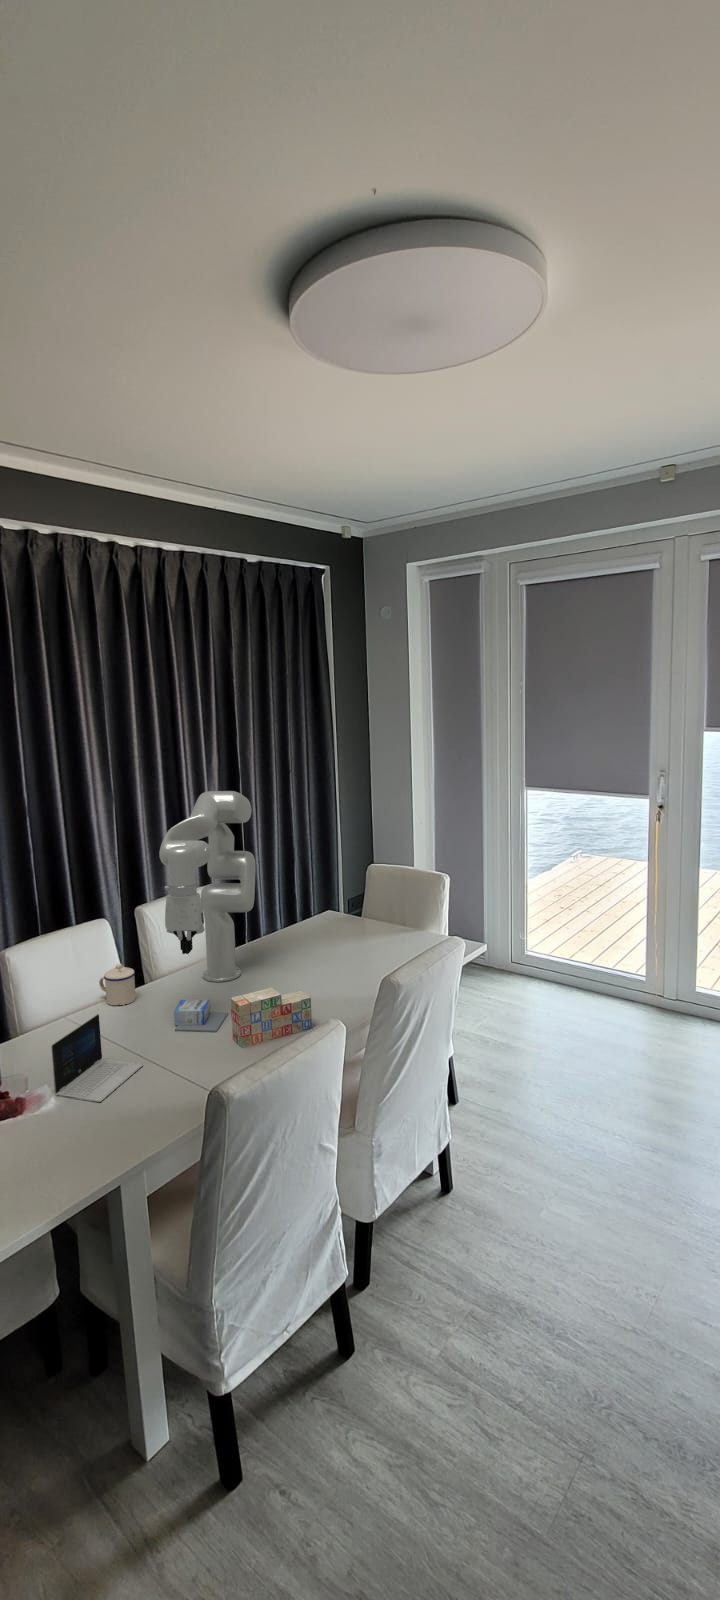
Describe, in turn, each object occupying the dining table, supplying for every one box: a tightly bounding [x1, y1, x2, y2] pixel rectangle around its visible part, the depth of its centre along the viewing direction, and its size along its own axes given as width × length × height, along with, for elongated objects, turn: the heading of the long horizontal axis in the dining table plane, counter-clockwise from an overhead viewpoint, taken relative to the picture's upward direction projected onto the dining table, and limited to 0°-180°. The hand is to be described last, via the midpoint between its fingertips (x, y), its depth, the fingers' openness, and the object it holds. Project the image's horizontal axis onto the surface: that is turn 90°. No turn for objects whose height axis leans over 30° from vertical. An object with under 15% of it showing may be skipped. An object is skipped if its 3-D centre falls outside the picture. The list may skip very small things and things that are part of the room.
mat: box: [174, 1011, 229, 1033], centre depth 214 cm, size 12×12×1 cm
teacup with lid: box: [98, 963, 137, 1006], centre depth 230 cm, size 12×9×12 cm
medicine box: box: [173, 999, 211, 1026], centre depth 214 cm, size 8×4×9 cm
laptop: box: [50, 1013, 144, 1103], centre depth 181 cm, size 18×12×13 cm
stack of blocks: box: [230, 987, 313, 1049], centre depth 205 cm, size 21×6×12 cm, turn 121°
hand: (186, 952), depth 211 cm, fingers closed
